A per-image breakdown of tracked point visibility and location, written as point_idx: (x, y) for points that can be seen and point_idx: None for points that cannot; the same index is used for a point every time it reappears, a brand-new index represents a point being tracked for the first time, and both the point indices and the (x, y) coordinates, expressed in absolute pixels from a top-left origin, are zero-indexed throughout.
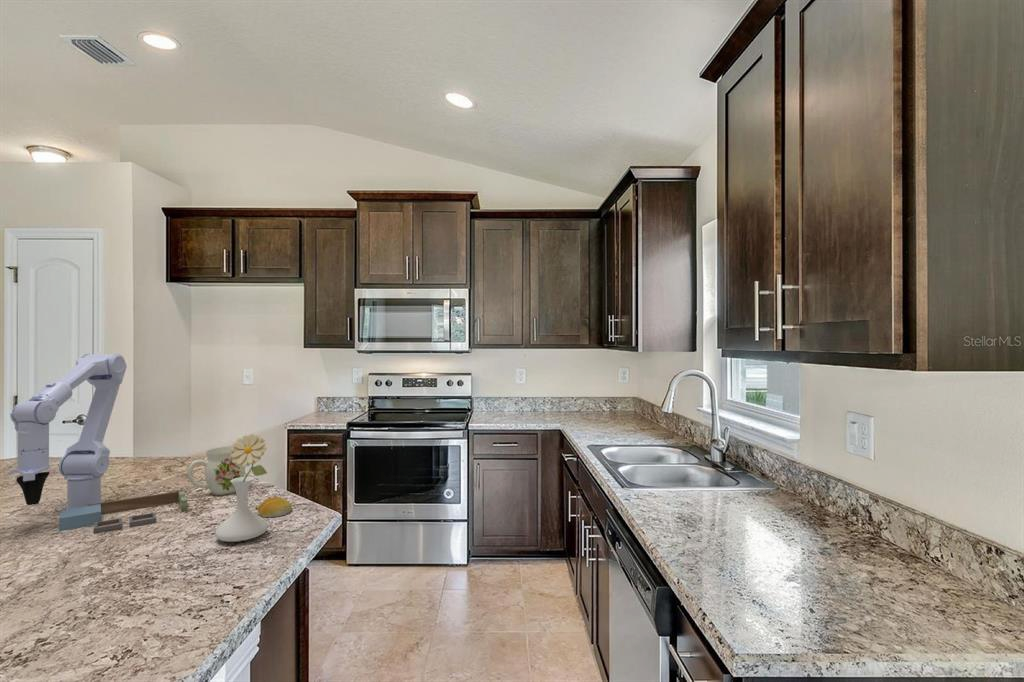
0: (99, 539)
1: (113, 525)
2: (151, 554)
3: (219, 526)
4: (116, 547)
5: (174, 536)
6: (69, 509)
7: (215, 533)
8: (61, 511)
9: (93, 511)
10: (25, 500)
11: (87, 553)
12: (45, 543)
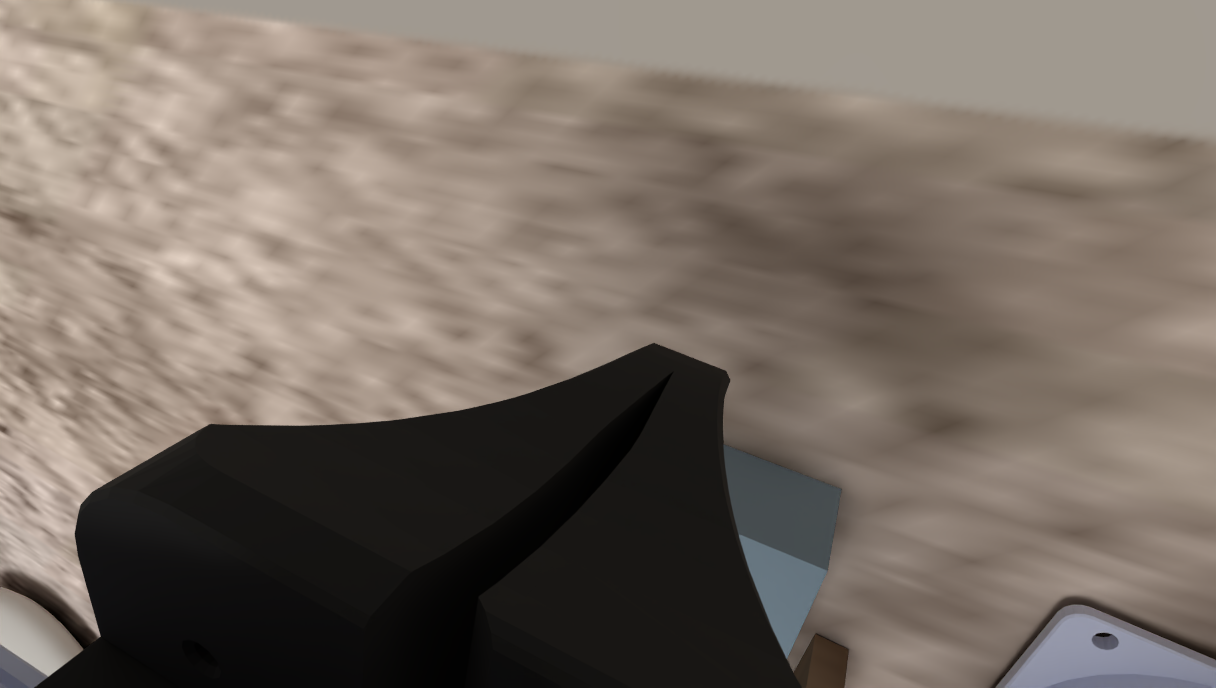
0: None
1: None
2: (6, 439)
3: (7, 641)
4: (116, 416)
5: None
6: (781, 609)
7: (10, 609)
8: (766, 550)
9: None
10: (622, 359)
11: (91, 318)
12: (347, 242)
